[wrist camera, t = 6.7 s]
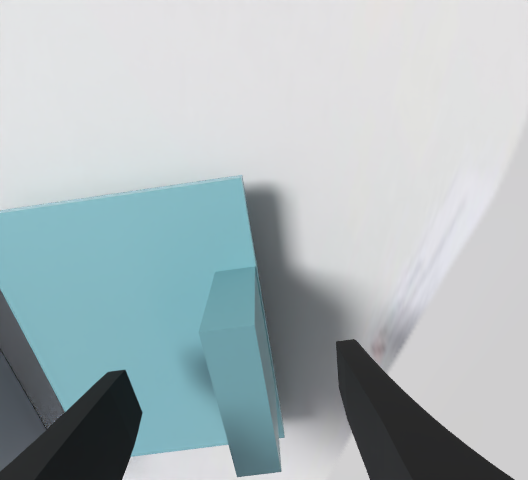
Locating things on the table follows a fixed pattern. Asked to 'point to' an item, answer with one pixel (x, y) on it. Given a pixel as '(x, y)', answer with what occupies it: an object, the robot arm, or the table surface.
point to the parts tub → (15, 417)
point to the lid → (152, 312)
